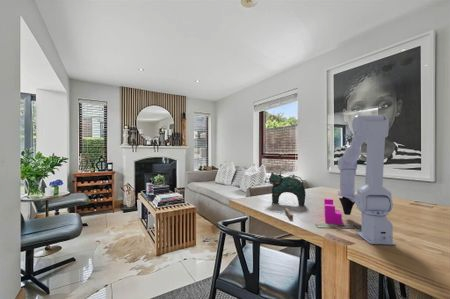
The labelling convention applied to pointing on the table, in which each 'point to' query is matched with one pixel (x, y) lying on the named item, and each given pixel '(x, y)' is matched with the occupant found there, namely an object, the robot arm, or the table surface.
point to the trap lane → (325, 224)
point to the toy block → (331, 212)
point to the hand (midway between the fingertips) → (347, 214)
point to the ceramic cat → (287, 187)
